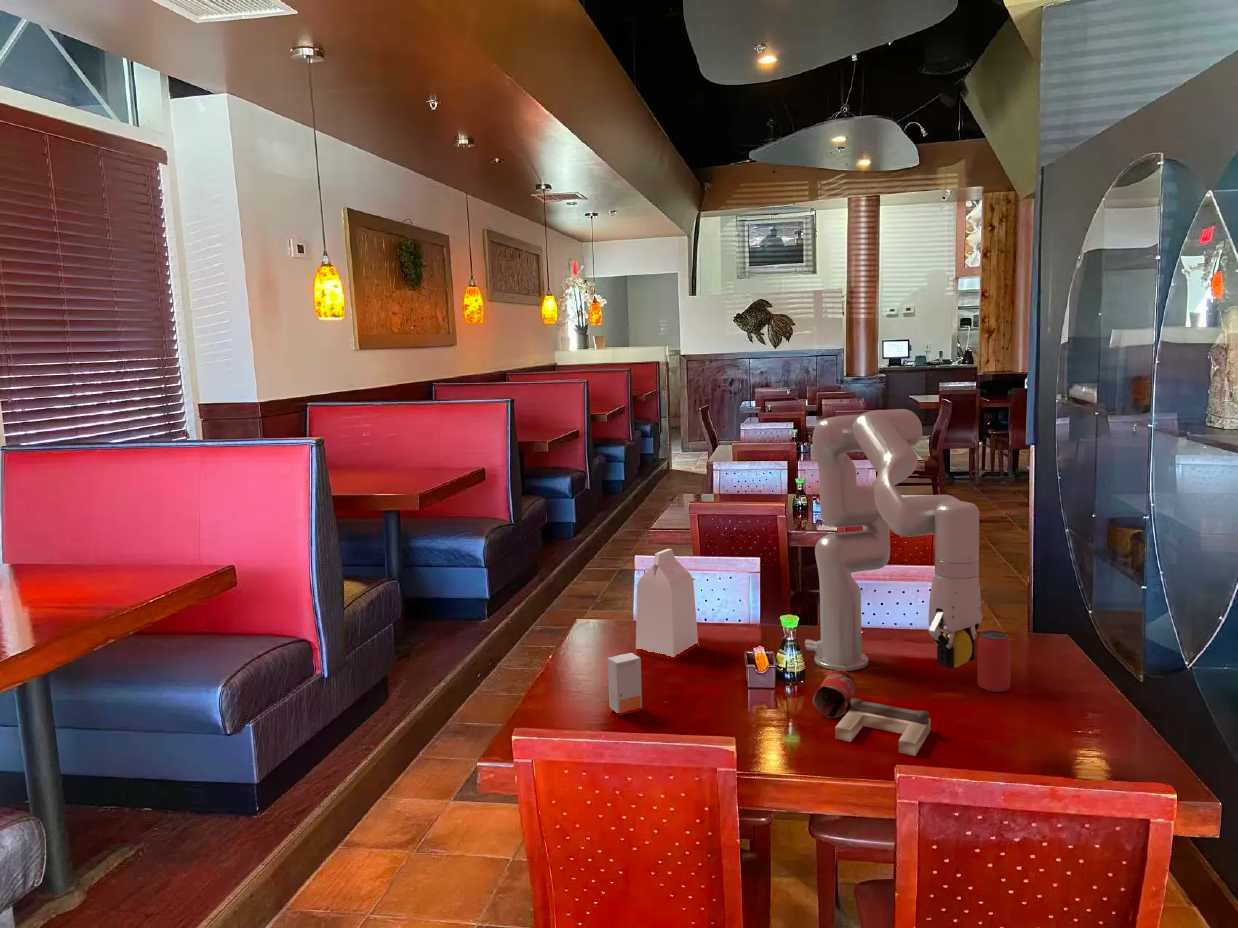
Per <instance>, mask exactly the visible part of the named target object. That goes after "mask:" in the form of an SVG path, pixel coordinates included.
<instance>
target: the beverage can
mask: <svg viewBox="0 0 1238 928" xmlns="http://www.w3.org/2000/svg"><path fill="white" fill-rule="evenodd" d="M854 679H855V678H854V677H853V676H852V675H851V674H850V672H848V671H844V670H832V671H831V672H830V673H828V674H827V675H826V677H825V678H824V680H823V681H822V683H821V685H820V687H819V688H818V689H817V690H816V692H815V694H814V695H813V697H812V702H811V703H812V704H813V706H815V708H816V709H817V711H818V712H819V713H820V714H821V715H823V716H824V717H826V718H831V719H832V718H833V719H836V718H839V717H841V716H844V714H846V711H847V706H849V705H850V704H851V699H853V698H854V695H855V693H856V690H857V686H856V682H855V680H854ZM838 700H840V701H842V702H841V703H840V706H839V707H838V709H837V711H836V713H835V716H829V715H830V713H831V711H832V710H833V709H834V706H835V705H836V703H837V702H838Z"/></svg>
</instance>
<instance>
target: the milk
mask: <svg viewBox="0 0 1238 928" xmlns="http://www.w3.org/2000/svg"><path fill="white" fill-rule="evenodd" d="M675 556H676V555H675V554H674V551H673V549H672V548H666V549H663V550H661V551H658V552H656V553H655V554H654V559H653V560H654V561H653V565H652V566H651V567H649V569H647V571H646V572H645V573H644V574H642V576H641V577H640V578H639V579H638V581H637V584H636V617H635V618H636V619H635V622H636V623H635V631H636V632H635V650H636V649H643V650H646V651H648V652H655V653H658V654H659V653H660V654H665V655H667V656H671V657H675V656H676V655H677V654H680V653H681V652H683V651H684V650H686V649H688V648H689V647H691V646H693V645H694V644H697V643H698V644H699V635H698V624H697V623H698V621H697V610H696V609H697V608H696V597H695V596H696V595H695V586H694V584H695V583H694V578H693V576H692V574H691V573H690V572H689V571H688V570H687V569H686V568H685V567H684V565H682V563H680V562H679V561H678V559H676V557H675Z"/></svg>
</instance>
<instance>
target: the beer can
mask: <svg viewBox="0 0 1238 928" xmlns="http://www.w3.org/2000/svg"><path fill="white" fill-rule="evenodd" d="M1011 645H1012V644H1011V641H1010V639H1009V634H1007V633H1006V632H1004V631H1000V630H993V629H990V630H983V631H981V632H980V636H979V638H978V641H977V676H976V677H977V678H976V679H977V683H976V684H977V686H978V687H980V688H981V689H982V690H984V689H985V691H989V692H994V693H1003V692H1006V691H1009V689H1010V688H1011V672H1012V671H1011V670H1012V669H1011V666H1012V663H1011V659H1012V654H1011V653H1012V646H1011Z"/></svg>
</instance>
